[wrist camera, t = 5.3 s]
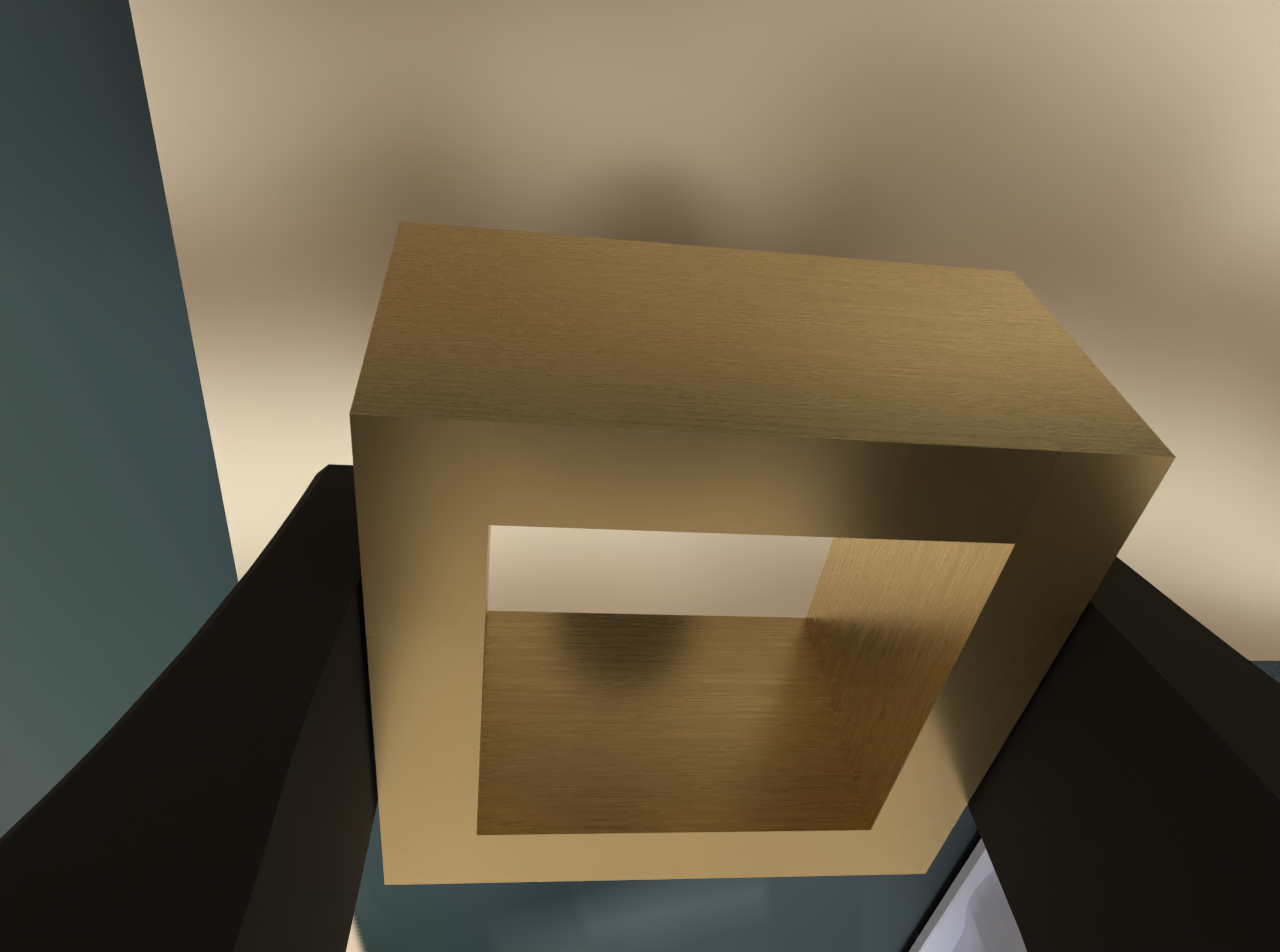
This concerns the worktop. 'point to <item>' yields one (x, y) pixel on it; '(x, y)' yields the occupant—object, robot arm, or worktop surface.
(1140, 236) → the keeper board
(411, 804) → the brass link
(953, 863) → the worktop surface
